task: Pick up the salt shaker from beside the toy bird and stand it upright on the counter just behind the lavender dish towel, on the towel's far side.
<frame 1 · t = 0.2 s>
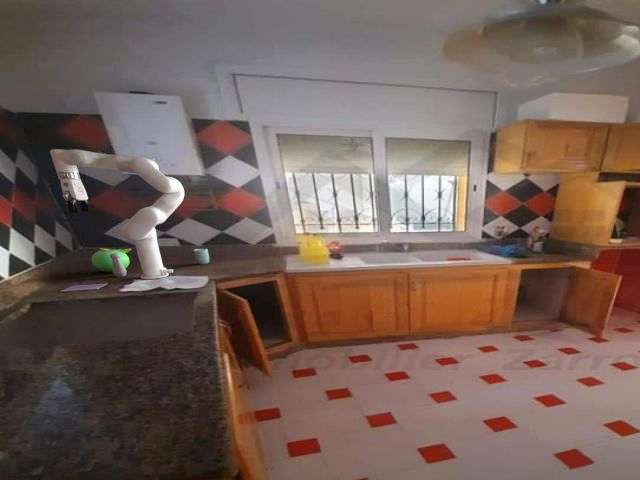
hand: (80, 212, 162), 36 cm above the counter, tool pointing down, fingers open, 9 cm apart
dish towel: (84, 287, 160), on the counter
cup: (203, 264, 214), on the counter
salt shaker: (121, 276, 183), on the counter
toy bird: (115, 272, 192), on the counter
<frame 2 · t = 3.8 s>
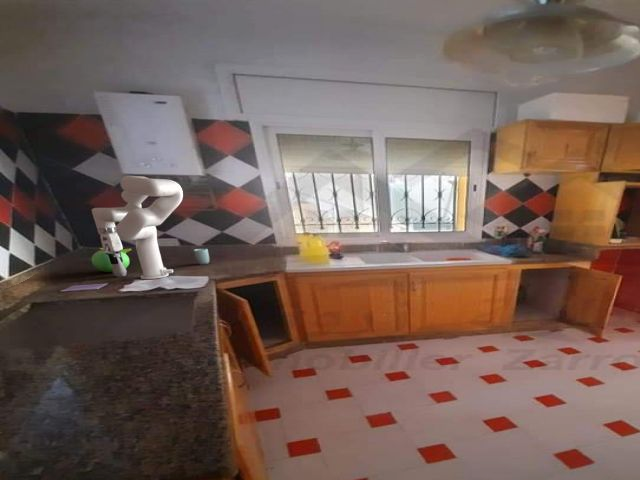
hand: (117, 262, 180), 8 cm above the counter, tool pointing down, fingers closed on salt shaker, 4 cm apart
salt shaker: (121, 276, 183), on the counter, touching gripper
everything else where it was.
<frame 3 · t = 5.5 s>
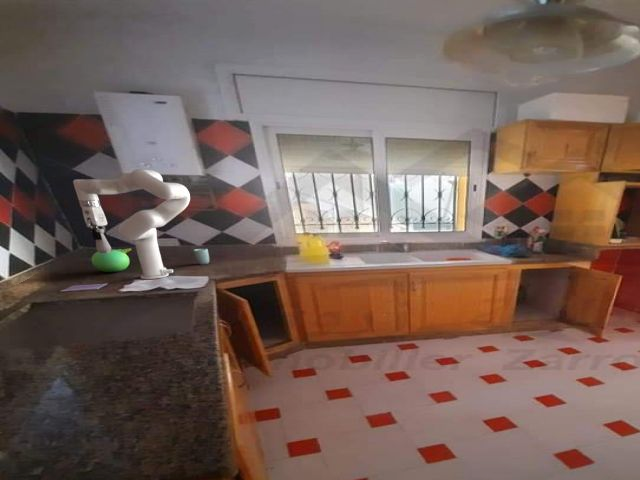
hand: (100, 238, 172), 22 cm above the counter, tool pointing down, fingers closed on salt shaker, 4 cm apart
salt shaker: (105, 252, 175), point 14 cm above the counter, touching gripper
everything else where it was.
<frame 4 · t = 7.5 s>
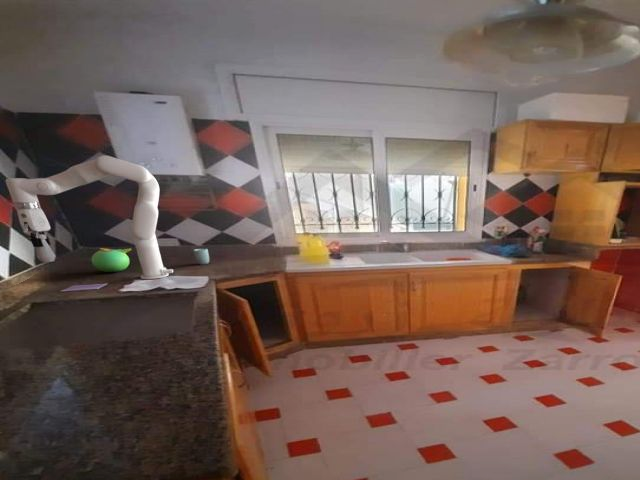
hand: (42, 245, 151), 22 cm above the counter, tool pointing down, fingers closed on salt shaker, 4 cm apart
salt shaker: (48, 261, 154), point 14 cm above the counter, touching gripper
everything else where it was.
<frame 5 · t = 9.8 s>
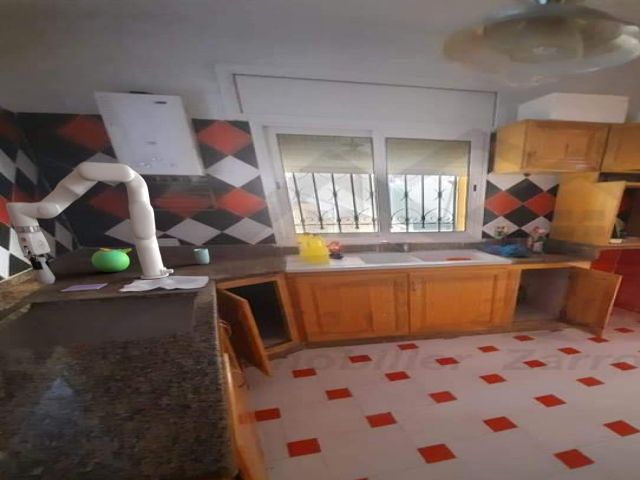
hand: (42, 268, 152), 11 cm above the counter, tool pointing down, fingers closed on salt shaker, 4 cm apart
salt shaker: (48, 283, 154), point 3 cm above the counter, touching gripper
everything else where it was.
when the fingers open (8 cm above the counter, at t = 11.2 s): salt shaker stays where it is, on the counter.
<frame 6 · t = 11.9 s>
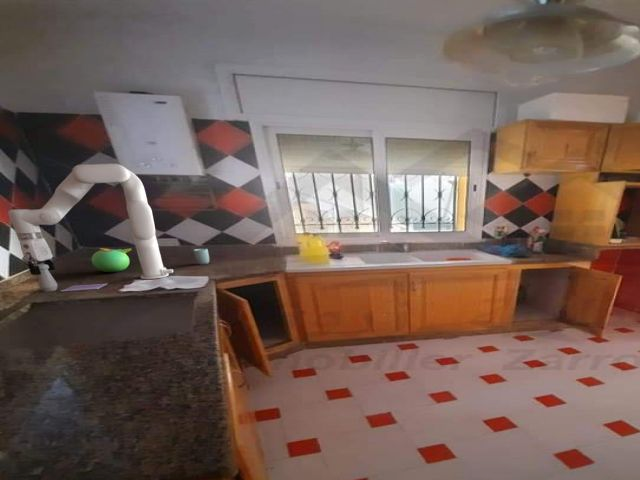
hand: (44, 272, 152), 9 cm above the counter, tool pointing down, fingers open, 9 cm apart
salt shaker: (50, 290, 155), on the counter
everything else where it was.
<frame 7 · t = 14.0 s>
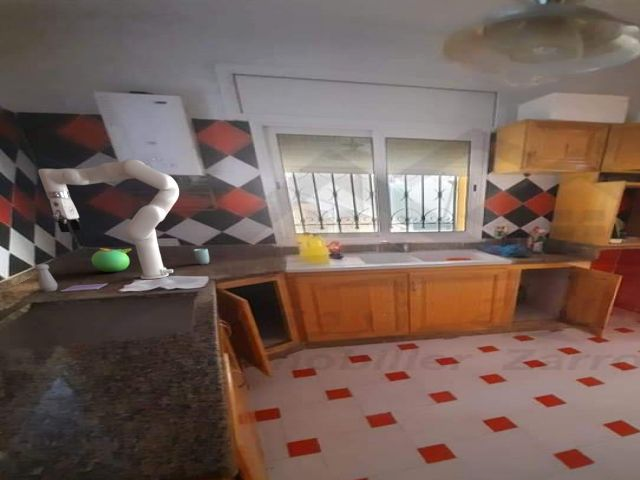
hand: (71, 231, 160), 27 cm above the counter, tool pointing down, fingers open, 9 cm apart
nothing on the counter moved.
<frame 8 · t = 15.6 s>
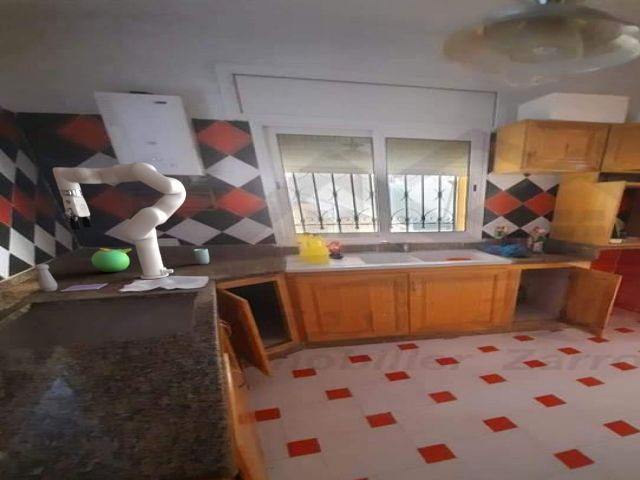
hand: (82, 228, 164), 28 cm above the counter, tool pointing down, fingers open, 9 cm apart
nothing on the counter moved.
at the end: salt shaker inside the target area on the counter beside the dish towel (0.7 cm from its centre), on the counter; salt shaker tilted 0°; salt shaker touching counter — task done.
